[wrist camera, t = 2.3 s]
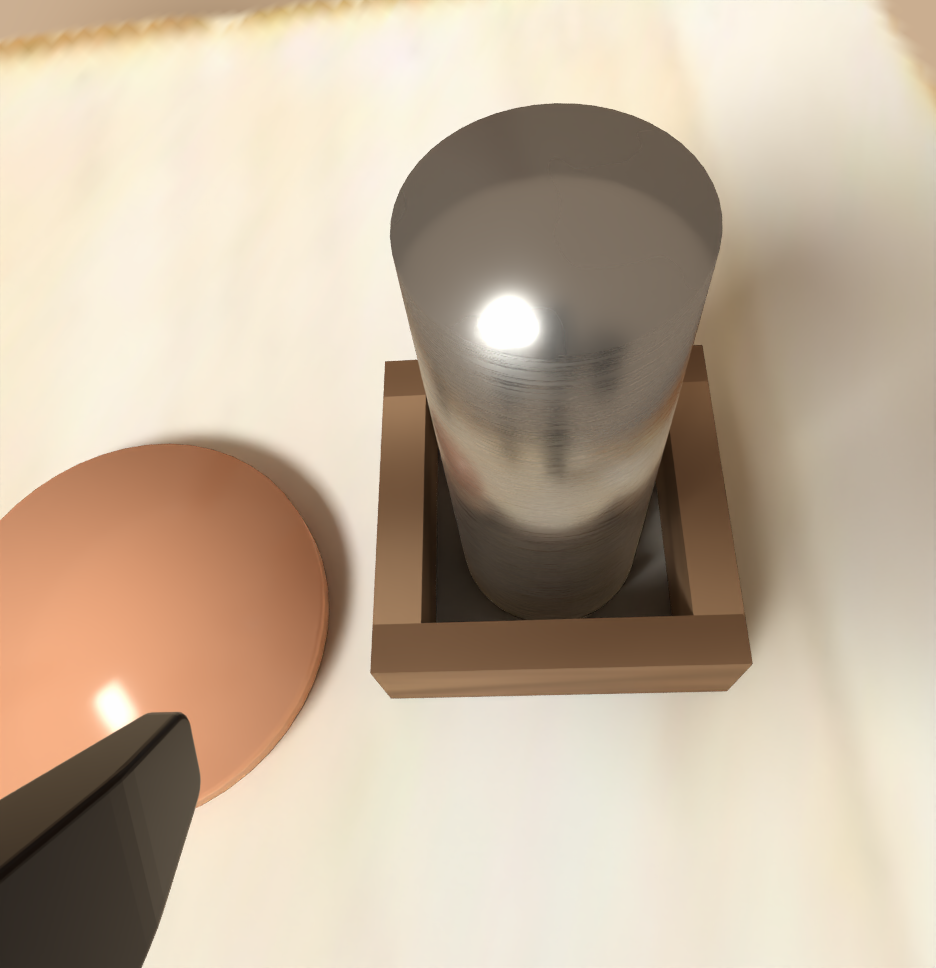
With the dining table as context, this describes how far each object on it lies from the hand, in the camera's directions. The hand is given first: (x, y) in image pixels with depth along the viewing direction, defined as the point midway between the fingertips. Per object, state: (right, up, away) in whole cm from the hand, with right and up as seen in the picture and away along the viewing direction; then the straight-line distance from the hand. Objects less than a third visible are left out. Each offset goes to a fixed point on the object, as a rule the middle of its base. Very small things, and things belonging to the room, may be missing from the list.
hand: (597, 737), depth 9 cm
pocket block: (+1, +1, +15) cm, 15 cm away
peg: (+1, +1, +15) cm, 15 cm away
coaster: (-11, -1, +15) cm, 19 cm away
